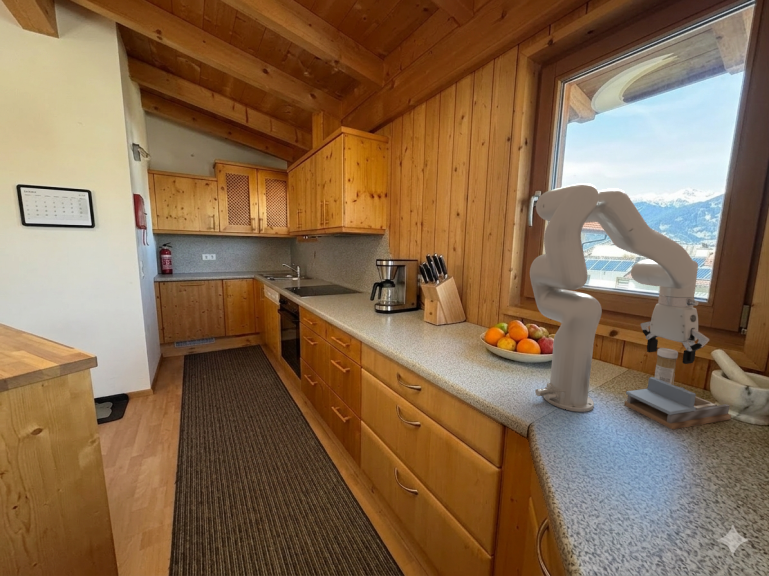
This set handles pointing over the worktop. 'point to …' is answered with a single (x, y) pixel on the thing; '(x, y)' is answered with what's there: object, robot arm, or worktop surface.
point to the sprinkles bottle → (666, 365)
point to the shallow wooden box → (701, 415)
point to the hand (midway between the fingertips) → (668, 357)
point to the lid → (665, 397)
